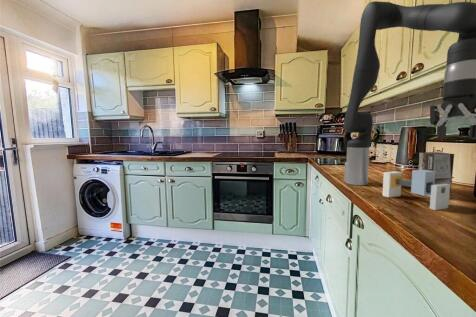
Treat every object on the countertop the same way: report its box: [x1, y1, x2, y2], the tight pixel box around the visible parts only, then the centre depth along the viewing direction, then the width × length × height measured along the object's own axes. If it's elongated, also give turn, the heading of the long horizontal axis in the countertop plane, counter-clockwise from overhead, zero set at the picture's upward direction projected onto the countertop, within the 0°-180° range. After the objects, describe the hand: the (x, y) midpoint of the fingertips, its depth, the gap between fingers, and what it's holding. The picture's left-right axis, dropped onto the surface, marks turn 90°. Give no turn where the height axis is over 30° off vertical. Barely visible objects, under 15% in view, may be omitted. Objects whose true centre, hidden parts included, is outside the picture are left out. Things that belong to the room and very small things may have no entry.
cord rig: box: [382, 170, 450, 211], centre depth 77 cm, size 18×6×9 cm, turn 18°
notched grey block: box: [410, 169, 435, 197], centre depth 74 cm, size 4×5×8 cm
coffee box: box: [418, 151, 455, 200], centre depth 84 cm, size 9×6×16 cm
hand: (456, 138), depth 65 cm, fingers open, 6 cm apart
